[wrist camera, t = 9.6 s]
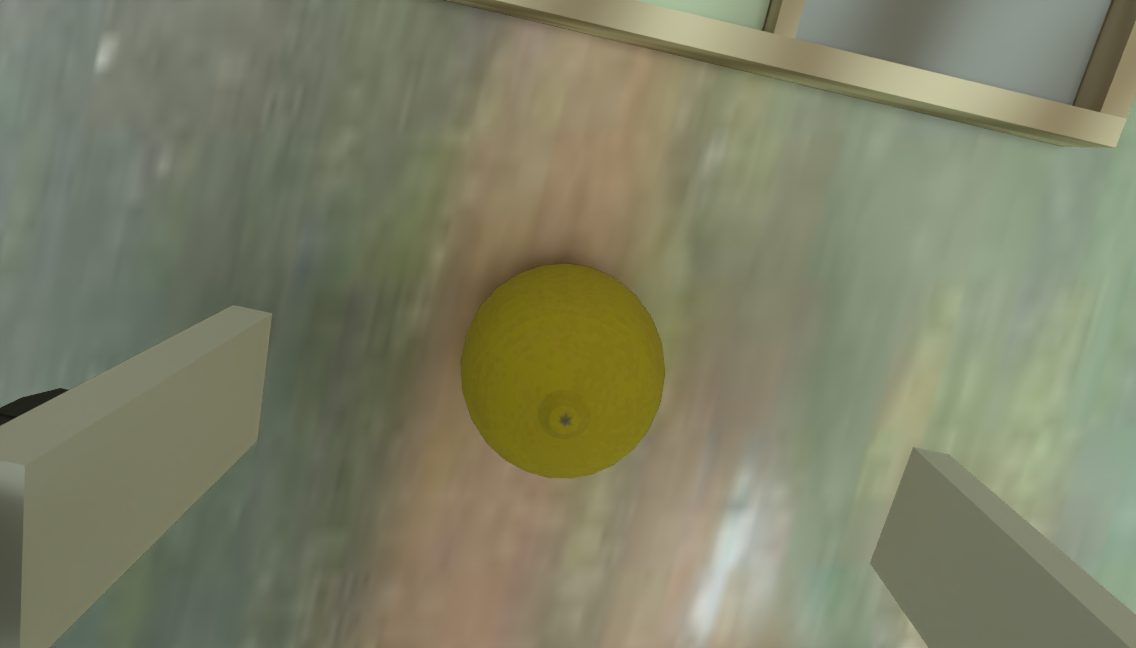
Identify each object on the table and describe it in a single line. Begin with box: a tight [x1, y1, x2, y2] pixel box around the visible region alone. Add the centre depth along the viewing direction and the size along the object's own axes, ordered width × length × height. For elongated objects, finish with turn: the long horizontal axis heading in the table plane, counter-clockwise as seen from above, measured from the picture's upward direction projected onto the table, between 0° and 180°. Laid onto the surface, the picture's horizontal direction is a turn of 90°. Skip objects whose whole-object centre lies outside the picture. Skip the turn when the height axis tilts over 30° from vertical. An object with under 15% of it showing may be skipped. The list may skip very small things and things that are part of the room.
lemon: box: [461, 263, 665, 478], centre depth 20 cm, size 6×6×8 cm
